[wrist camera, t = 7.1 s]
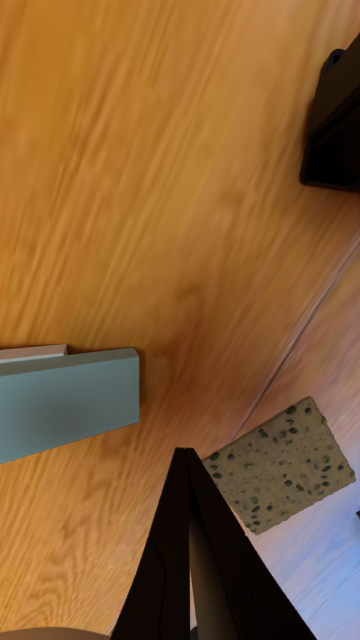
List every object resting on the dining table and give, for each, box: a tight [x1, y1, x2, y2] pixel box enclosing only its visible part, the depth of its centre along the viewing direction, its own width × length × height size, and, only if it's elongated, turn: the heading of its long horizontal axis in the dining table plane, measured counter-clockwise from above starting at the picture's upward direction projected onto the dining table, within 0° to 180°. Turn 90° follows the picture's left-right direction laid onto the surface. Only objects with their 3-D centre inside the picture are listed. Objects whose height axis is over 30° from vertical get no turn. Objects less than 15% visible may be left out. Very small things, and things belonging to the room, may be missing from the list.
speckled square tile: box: [201, 396, 356, 535], centre depth 17 cm, size 12×12×1 cm
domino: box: [0, 347, 139, 464], centre depth 11 cm, size 2×5×9 cm
